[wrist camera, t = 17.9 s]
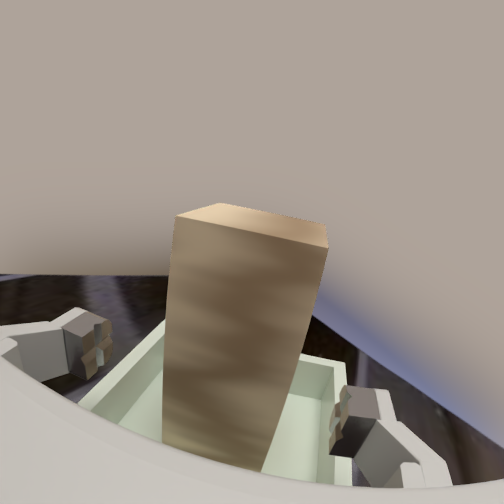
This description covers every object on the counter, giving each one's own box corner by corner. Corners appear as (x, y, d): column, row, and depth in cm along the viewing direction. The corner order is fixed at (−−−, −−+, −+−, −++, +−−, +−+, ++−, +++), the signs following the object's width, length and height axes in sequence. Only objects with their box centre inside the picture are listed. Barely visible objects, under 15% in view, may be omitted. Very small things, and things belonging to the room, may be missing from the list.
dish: (65, 473, 11) (48, 431, 10) (164, 357, 23) (166, 317, 22) (321, 557, 9) (351, 529, 8) (329, 401, 21) (344, 362, 20)
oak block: (162, 452, 13) (175, 215, 10) (194, 397, 18) (220, 202, 15) (257, 481, 13) (328, 248, 10) (272, 419, 17) (324, 224, 14)
